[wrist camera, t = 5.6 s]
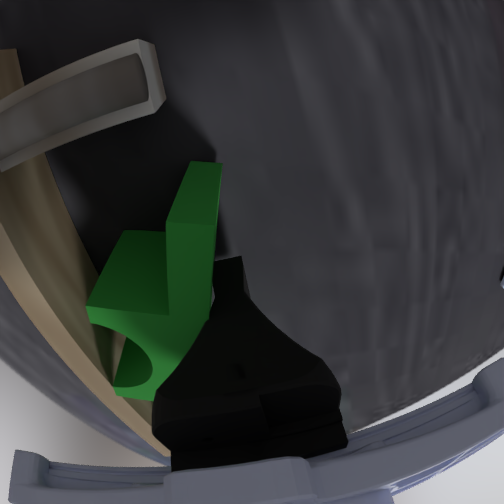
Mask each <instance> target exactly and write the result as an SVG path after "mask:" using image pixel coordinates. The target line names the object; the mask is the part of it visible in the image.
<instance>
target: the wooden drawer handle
mask: <svg viewBox="0 0 504 504" xmlns="http://www.w3.org/2000/svg"><path fill="white" fill-rule="evenodd" d="M165 100H166V94H165V90H164V86H163V81H162V77H161V72H160V68H159V63H158V59H157V54H156V50H155V45H154V44H152V43H149V42H146V41H143V40H140V39H136V40H132V41H129V42H126V43H123V44H120V45H117V46H114V47H111V48H109V49H106V50H103V51H101V52H98V53H95V54H93V55H90V56H88V57H85V58H83V59H80V60H78V61H76V62H73V63H71V64H69V65H66V66H64V67H62V68H60V69H58V70H56V71H53V72H51V73H49V74H47V75H45V76H43V77H41V78H39V79H37V80H35V81H33V82H32V83H30V84H28V85H26V86H24V82H23V78H22V73H21V69H20V65H19V60H18V55H17V50H16V49H4V50H0V275H1V277H2V278H3V280H4V281H5V283H6V285H7V286H8V288H9V289H10V291H11V292H12V294H13V295H14V297H15V298H16V300H17V301H18V303H19V304H20V305H21V307H22V308H23V310H24V311H25V313H26V314H27V315H28V317H29V318H30V319H31V321H32V322H33V323H34V325H35V326H36V327H37V329H38V330H39V331H40V333H41V334H42V335H43V336H44V338H45V339H46V340H47V341H48V343H49V344H50V345H51V346H52V348H53V349H54V350H55V351H56V352H57V354H58V355H59V356H60V357H61V358H62V359H63V361H64V362H65V363H66V364H67V365H68V366H69V367H70V369H71V370H72V371H73V372H74V373H75V374H76V375H77V376H78V377H79V378H80V380H81V381H82V382H83V383H84V384H85V385H86V386H87V387H88V388H89V389H90V390H91V391H92V392H93V393H94V394H95V395H96V396H97V397H98V398H99V399H100V400H101V401H102V402H103V403H104V404H105V405H106V406H107V407H108V408H109V409H110V410H111V411H112V412H113V413H114V414H115V415H117V416H118V417H119V418H120V419H121V420H122V421H123V422H124V423H125V424H126V425H128V426H129V427H130V428H131V429H132V430H133V431H134V432H136V433H137V434H138V435H139V436H140V437H141V438H143V439H144V440H145V441H146V442H147V443H149V444H150V445H151V446H152V447H154V448H155V449H156V450H157V451H159V452H160V453H161V454H162V455H164V456H171V451H170V450H168V449H167V448H166V447H165V446H164V445H163V444H161V443H160V442H159V441H158V440H157V439H156V438H155V437H154V436H153V434H152V407H153V401H147V400H140V399H134V398H127V397H121V396H116V394H115V391H114V389H113V383H114V379H115V375H116V372H117V368H118V364H119V361H120V357H121V353H122V350H123V346H124V343H125V339H126V336H125V335H123V334H121V333H119V332H117V331H115V330H113V329H110V328H107V327H104V326H101V325H98V324H93V323H90V320H89V317H88V313H87V310H86V306H85V305H86V303H87V301H88V299H89V297H90V295H91V293H92V290H93V288H94V286H95V284H96V282H97V280H98V278H99V275H98V273H97V271H96V269H95V267H94V265H93V263H92V261H91V259H90V257H89V255H88V253H87V251H86V249H85V247H84V245H83V243H82V241H81V239H80V237H79V235H78V233H77V230H76V228H75V226H74V224H73V222H72V220H71V217H70V215H69V213H68V210H67V208H66V206H65V203H64V201H63V199H62V196H61V194H60V191H59V189H58V187H57V184H56V182H55V179H54V176H53V174H52V171H51V169H50V166H49V163H48V160H47V158H46V155H45V152H46V151H48V150H51V149H53V148H55V147H58V146H60V145H63V144H65V143H67V142H70V141H73V140H75V139H78V138H80V137H83V136H86V135H88V134H91V133H94V132H97V131H99V130H102V129H105V128H108V127H111V126H114V125H117V124H120V123H123V122H126V121H129V120H133V119H136V118H139V117H143V116H146V115H150V114H153V113H155V112H156V111H157V110H158V109H159V107H160V106H161V105H162V104H163V102H164V101H165Z"/></svg>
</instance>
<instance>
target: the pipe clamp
mask: <svg viewBox="0 0 504 504" xmlns="http://www.w3.org/2000/svg"><path fill="white" fill-rule="evenodd" d="M222 164H223V163H213V162H200V161H191V162H190V164H189V166H188V169H187V171H186V173H185V176H184V178H183V180H182V183H181V185H180V188H179V190H178V192H177V195H176V197H175V200H174V202H173V205H172V207H171V210H170V212H169V215H168V218H167V220H166V232H158V231H145V230H124V231H123V233H122V235H121V236H120V238H119V240H118V242H117V244H116V246H115V247H114V249H113V251H112V253H111V255H110V257H109V259H108V261H107V262H106V264H105V266H104V268H103V270H102V272H101V274H100V276H99V278H98V280H97V282H96V284H95V286H94V288H93V290H92V293H91V295H90V297H89V299H88V301H87V303H86V305H85V306H86V310H87V313H88V317H89V320H90V323H93V324H98V325H101V326H104V327H107V328H110V329H113V330H115V331H117V332H119V333H121V334H123V335H125V336H126V339H125V343H124V346H123V350H122V353H121V357H120V361H119V364H118V368H117V372H116V375H115V379H114V383H113V389H114V391H115V394H116V396H121V397H127V398H134V399H140V400H147V401H154V396H155V392H156V390H157V389H158V388H159V387H160V385H161V384H162V383H163V382H164V381H165V380H166V379H167V378H168V377H169V375H170V374H171V373H172V372H173V371H174V370H175V368H176V367H177V366H178V364H179V363H180V362H181V360H182V359H183V357H184V356H185V355H186V353H187V352H188V350H189V349H190V347H191V346H192V344H193V343H194V341H195V339H196V337H197V336H198V334H199V332H200V330H201V329H202V327H203V325H204V323H205V322H206V321H207V320H209V313H210V309H211V300H212V285H213V283H212V276H213V266H214V256H215V243H216V230H217V218H218V207H219V195H220V184H221V174H222Z"/></svg>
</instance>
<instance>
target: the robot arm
mask: <svg viewBox="0 0 504 504" xmlns="http://www.w3.org/2000/svg"><path fill="white" fill-rule="evenodd" d="M212 283H213V288H214V293H215V299H214V302H213V304H212V307H211V309H210V313H209V320H207V321H206V322H205V323H204V325H203V327H202V329H201V330H200V332H199V334H198V336H197V337H196V339H195V341H194V343H193V344H192V346H191V347H190V349H189V350H188V352H187V353H186V355H185V356H184V357H183V359H182V360H181V362H180V363H179V364H178V366H177V367H176V368H175V370H174V371H173V372H172V373H171V374H170V375H169V377H168V378H167V379H166V380H165V381H164V382H163V383H162V384H161V385H160V387H159V388H158V389H157V390H156V392H155V396H154V401H153V407H152V434H153V436H154V437H155V438H156V439H157V440H158V441H159V442H160V443H161V444H163V445H164V446H165V447H166V448H167V449H168V450H170V451H171V466H168V467H104V466H89V465H77V464H67V463H59V462H51V461H49V460H47V459H46V458H45V457H43V456H41V455H39V454H36V453H33V452H28V451H22V450H15V454H14V460H13V466H12V473H11V480H10V488H9V498H8V500H9V502H10V503H12V504H394V501H393V498H392V496H394V495H396V494H398V493H401V492H403V491H405V490H407V489H410V488H412V487H414V486H416V485H418V484H420V483H422V482H424V481H426V480H428V479H430V478H432V477H434V476H436V475H438V474H440V473H441V472H443V471H445V470H447V469H448V468H450V467H452V466H454V465H456V464H457V463H459V462H461V461H463V460H464V459H465V458H467V457H469V456H471V455H472V454H474V453H476V452H477V451H479V450H480V449H482V448H483V447H485V446H487V445H488V444H490V443H491V442H492V441H494V440H496V439H497V438H498V437H500V436H501V435H503V434H504V358H500V359H499V360H497V361H495V362H494V363H492V364H490V365H488V366H487V367H485V368H483V369H482V370H481V371H480V372H479V373H478V374H477V375H476V376H475V377H474V379H473V381H472V383H470V384H468V385H467V386H465V387H463V388H461V389H459V390H457V391H455V392H453V393H451V394H449V395H447V396H445V397H443V398H441V399H439V400H437V401H434V402H432V403H430V404H428V405H426V406H423V407H421V408H419V409H416V410H414V411H412V412H409V413H407V414H404V415H402V416H399V417H397V418H395V419H392V420H389V421H386V422H384V423H381V424H378V425H376V426H373V427H370V428H367V429H364V430H361V431H358V432H355V433H352V434H348V435H346V433H345V430H344V427H343V424H342V420H343V419H342V415H341V412H340V409H339V406H340V400H341V388H340V386H339V383H338V382H337V380H336V378H335V376H334V375H333V373H332V372H331V370H330V369H329V368H328V366H327V365H326V364H325V362H324V361H323V360H322V359H321V358H319V357H318V356H316V355H314V354H313V353H311V352H309V351H308V350H306V349H305V348H303V347H302V346H300V345H299V344H297V343H296V342H295V341H293V340H292V339H291V338H289V337H288V336H287V335H286V334H284V333H283V332H282V331H281V330H280V329H278V328H277V327H276V326H275V325H274V324H273V323H272V322H271V321H270V320H269V319H268V318H267V317H266V316H265V315H264V314H263V313H262V312H261V311H260V310H259V309H258V308H257V306H256V305H255V304H254V303H253V301H252V300H251V298H250V293H249V289H248V284H247V280H246V275H245V270H244V266H243V261H242V257H241V256H238V257H233V258H228V259H223V260H219V261H214V266H213V276H212ZM501 286H502V287H503V288H504V277H503V279H502V282H501Z"/></svg>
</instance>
